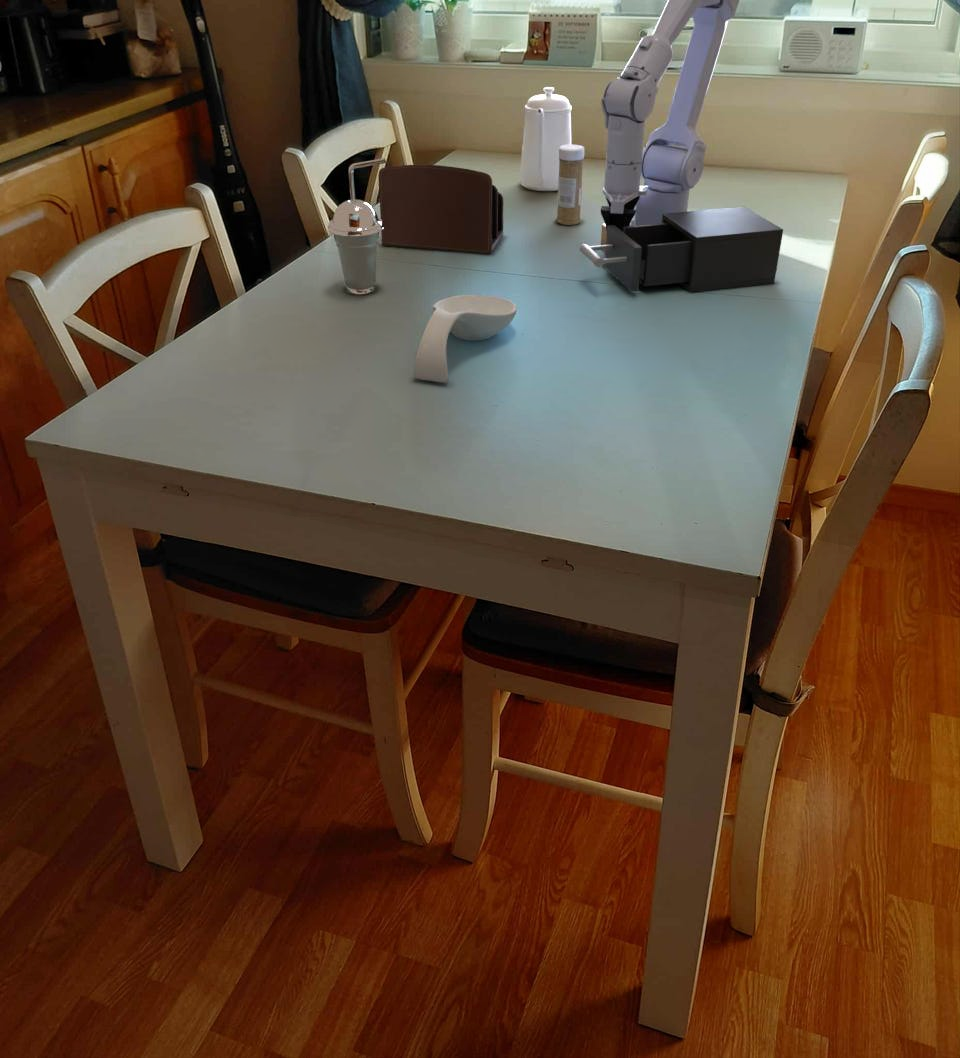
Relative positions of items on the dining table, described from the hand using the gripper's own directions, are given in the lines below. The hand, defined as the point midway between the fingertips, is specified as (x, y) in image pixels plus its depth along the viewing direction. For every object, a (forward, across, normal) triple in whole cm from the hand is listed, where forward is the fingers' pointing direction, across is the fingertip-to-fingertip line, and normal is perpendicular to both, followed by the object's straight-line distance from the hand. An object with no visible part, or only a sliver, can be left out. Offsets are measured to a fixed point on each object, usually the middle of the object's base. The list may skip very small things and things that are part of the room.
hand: (617, 244), depth 164 cm
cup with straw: (+2, -22, +38) cm, 44 cm away
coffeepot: (+3, +41, +19) cm, 45 cm away
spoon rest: (+2, -41, +18) cm, 45 cm away
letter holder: (+2, +3, +31) cm, 31 cm away
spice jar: (+3, +18, +11) cm, 21 cm away
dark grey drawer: (+1, -11, -5) cm, 12 cm away
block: (+1, 0, 0) cm, 1 cm away
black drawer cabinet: (+2, -5, -16) cm, 17 cm away
